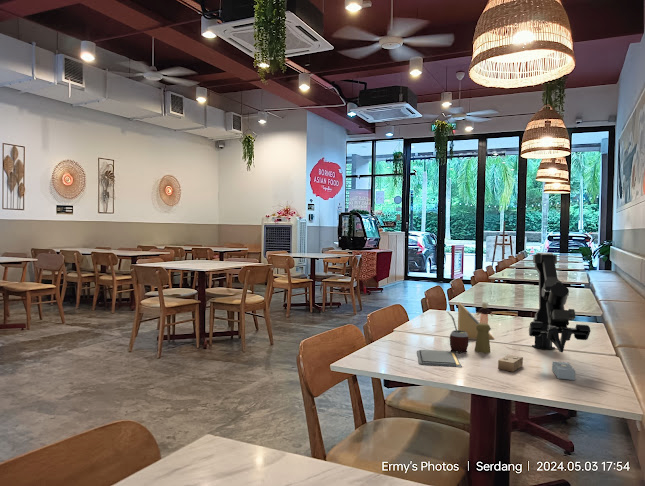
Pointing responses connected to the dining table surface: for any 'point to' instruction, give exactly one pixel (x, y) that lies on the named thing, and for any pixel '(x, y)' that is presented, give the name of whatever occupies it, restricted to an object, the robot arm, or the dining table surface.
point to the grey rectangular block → (563, 370)
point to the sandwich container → (468, 322)
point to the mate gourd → (458, 340)
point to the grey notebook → (438, 358)
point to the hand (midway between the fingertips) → (561, 351)
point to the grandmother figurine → (484, 313)
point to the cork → (482, 338)
